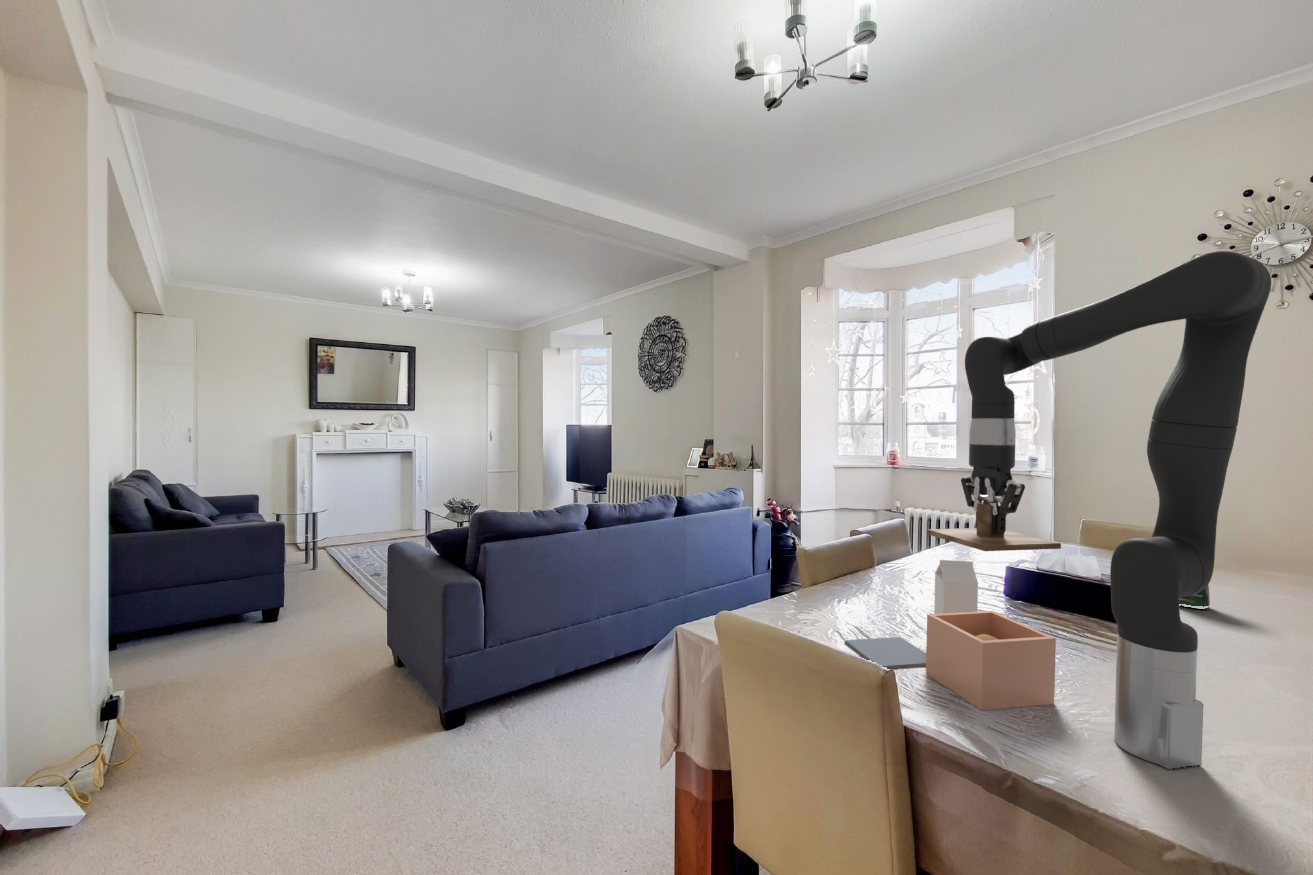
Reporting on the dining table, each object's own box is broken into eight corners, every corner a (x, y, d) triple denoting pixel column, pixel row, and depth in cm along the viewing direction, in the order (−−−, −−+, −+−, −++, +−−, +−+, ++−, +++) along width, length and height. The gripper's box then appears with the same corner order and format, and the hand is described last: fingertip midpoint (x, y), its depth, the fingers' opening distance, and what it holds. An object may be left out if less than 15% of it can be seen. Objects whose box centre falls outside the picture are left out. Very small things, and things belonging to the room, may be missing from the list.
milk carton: (976, 648, 125) (978, 565, 125) (942, 646, 127) (944, 563, 126) (965, 637, 132) (967, 557, 132) (933, 634, 134) (935, 556, 133)
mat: (940, 664, 117) (940, 661, 117) (879, 669, 114) (879, 666, 114) (900, 639, 131) (900, 636, 131) (844, 642, 128) (845, 640, 128)
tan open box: (1054, 703, 101) (1055, 638, 100) (981, 710, 98) (982, 643, 98) (990, 667, 115) (992, 610, 115) (925, 672, 113) (927, 614, 113)
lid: (1060, 548, 100) (1061, 509, 100) (984, 551, 97) (985, 511, 97) (994, 532, 115) (995, 498, 115) (927, 534, 112) (927, 499, 112)
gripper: (1040, 443, 99) (1038, 539, 100) (981, 441, 113) (979, 525, 114) (1003, 443, 98) (1001, 540, 98) (948, 441, 112) (947, 526, 112)
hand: (990, 532), depth 106 cm, fingers closed on lid, 3 cm apart
